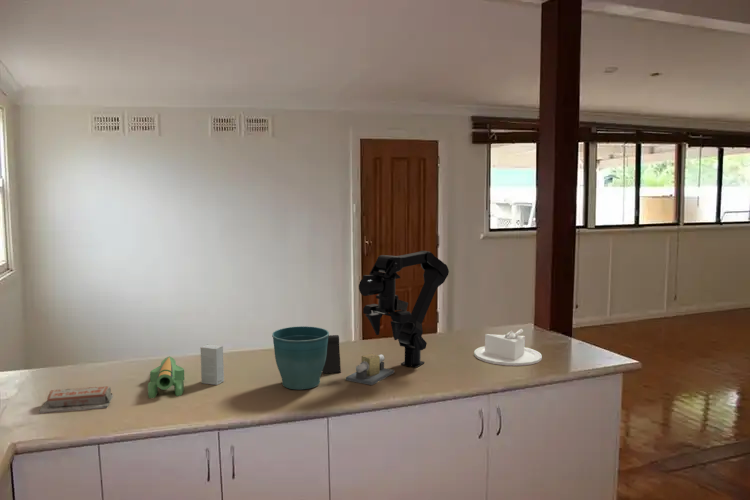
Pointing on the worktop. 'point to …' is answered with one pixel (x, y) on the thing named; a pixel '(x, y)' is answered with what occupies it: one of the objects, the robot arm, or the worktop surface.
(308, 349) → the flower pot
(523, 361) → the dish
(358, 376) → the grey plate with pegs
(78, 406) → the packaged product
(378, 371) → the tan block
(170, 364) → the toy spaceship
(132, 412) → the worktop surface
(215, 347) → the skincare box
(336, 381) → the worktop surface
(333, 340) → the phone stand
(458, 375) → the worktop surface
